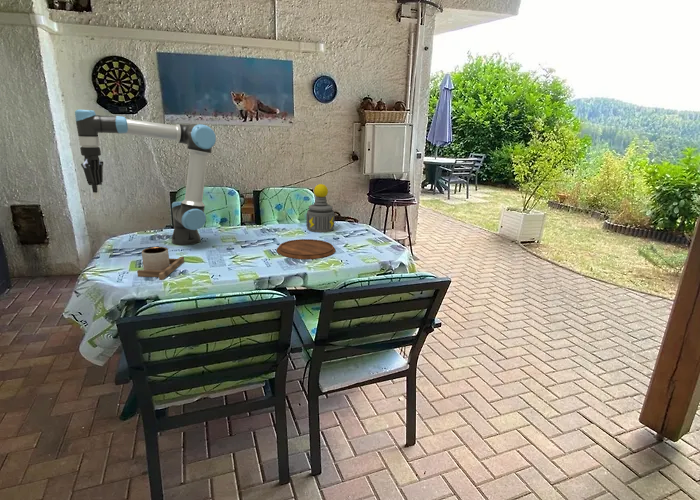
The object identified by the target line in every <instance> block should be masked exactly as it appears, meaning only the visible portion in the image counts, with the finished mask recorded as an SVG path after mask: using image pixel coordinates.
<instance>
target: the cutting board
mask: <svg viewBox="0 0 700 500" xmlns="http://www.w3.org/2000/svg"><path fill="white" fill-rule="evenodd" d="M276 252H277V254H278V255H280V256H282V257H285V258H288V259H293V260H318V259H325V258H328V257H331V256H333V255H335V254H336V248H335V247H334V245H333V244H332V243H330V242H328V241H325V240H319V239H308V238H307V239H306V238H305V239H303V238H302V239H301V238H300V239H291V240H287V241H284V242H282V243H280V244H279V245H278V246H277V248H276Z"/></svg>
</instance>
